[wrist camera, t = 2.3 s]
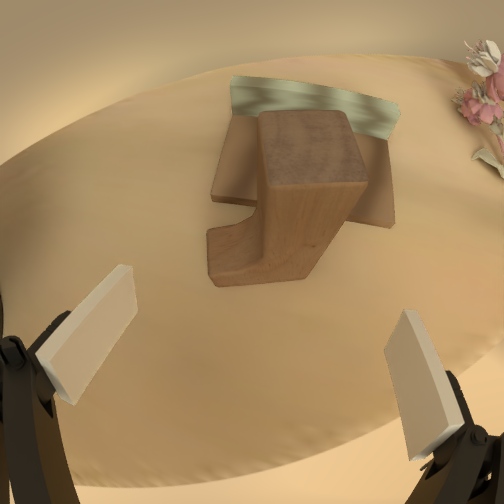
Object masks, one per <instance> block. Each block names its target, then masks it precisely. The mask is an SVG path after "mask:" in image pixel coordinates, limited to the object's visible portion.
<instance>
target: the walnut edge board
mask: <svg viewBox="0 0 504 504" xmlns="http://www.w3.org/2000/svg"><path fill="white" fill-rule="evenodd" d="M230 94H231V104H232V114H233V115H232V118H231V122H230V125H229V128H228V132H227V135H226V139H225V142H224V146H223V150H222V153H221V157H220V160H219V164H218V168H217V172H216V175H215V179H214V183H213V187H212V191H211V198H212V201H214V202H222V203H230V204H238V205H246V206H254V207H257V117H258V115H259V113H260V112H263V111H274V110H340V111H342V112H344V113H345V114H346V116H347V118H348V121H349V123H350V126H351V128H352V131H353V134H354V136H355V139H356V142H357V144H358V147H359V150H360V153H361V156H362V159H363V161H364V164H365V167H366V170H367V173H368V178H369V180H368V186H367V187H366V189H365V190H364V192H363V194H362V195H361V197H360V198H359V200H358V202H357V203H356V205H355V206H354V208H353V209H352V211H351V212H350V214H349V215H348V217H347V218H346V221H351V222H357V223H363V224H368V225H373V226H379V227H384V228H389V229H390V228H391V227H392V226H393V225H394V224H395V211H394V197H393V185H392V175H391V166H390V158H389V151H388V144H387V139H388V137H389V135H390V134H391V132H392V130H393V128H394V126H395V124H396V122H397V120H398V119H399V117H400V115H401V114H400V110H399V106H398V104H397V103H393V102H390V101H386V100H383V99H379V98H376V97H372V96H368V95H364V94H360V93H355V92H351V91H347V90H342V89H337V88H332V87H327V86H321V85H316V84H309V83H303V82H296V81H289V80H280V79H271V78H261V77H247V76H233V77H232V80H231V83H230Z"/></svg>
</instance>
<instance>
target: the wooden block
mask: <svg viewBox="0 0 504 504" xmlns="http://www.w3.org/2000/svg"><path fill="white" fill-rule="evenodd" d="M368 180H369V178H368V173H367V170H366V167H365V164H364V161H363V159H362V156H361V153H360V150H359V147H358V144H357V142H356V139H355V136H354V134H353V131H352V128H351V126H350V123H349V121H348V118H347V116H346V114H345V113H344V112H342V111H340V110H274V111H263V112H260V113H259V115H258V117H257V208H256V210H255V212H254V214H253V216H251V217H249V218H248V219H246V220H244V221H242V222H240V223H238V224H236V225H230V226H224V227H218V228H212V229H209V230H208V231H207V234H206V236H207V261H208V275H209V277H210V279H211V280H212V282H213V283H214V284H215V286H217V287H227V286H238V285H250V284H261V283H271V282H281V281H291V280H300V279H304V278H306V277H307V276H308V274H309V273H310V271H311V270H312V268H313V267H314V266H315V264H316V263H317V261H318V260H319V258H320V257H321V256H322V254H323V253H324V251H325V250H326V248H327V247H328V245H329V244H330V242H331V241H332V239H333V238H334V237H335V235H336V234H337V232H338V231H339V229H340V228H341V226H342V225H343V223H344V222H345V220H346V218H347V217H348V215H349V214H350V212H351V211H352V209H353V208H354V206H355V205H356V203H357V202H358V200H359V198H360V197H361V195H362V194H363V192H364V190H365V189H366V187H367V186H368Z"/></svg>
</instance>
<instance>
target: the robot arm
mask: <svg viewBox="0 0 504 504" xmlns="http://www.w3.org/2000/svg"><path fill="white" fill-rule="evenodd" d="M137 312H138V306H137V299H136V292H135V285H134V277H133V268H132V266H127V265H123V264H119V265H118V266H117V267H116V268H114V269H113V270H112V271H111V272H110V273H109V274H108V275H107V276H106V277H105V278H104V279H103V280H102V281H101V282H100V283H99V284H98V285H97V286H96V287H95V288H94V289H93V290H92V291H91V292H90V293H89V295H88V296H87V297H86V298H85V299H84V300H83V301H82V302H81V303H80V304H79V305H78V306H77V307H76V308H75V309H74V310H73V311H72V312H71V311H68V310H67V311H66V312H64V313H62V314H60V315H59V316H58V317H57V318H56V319H55V320H54V321H53V322H52V323H51V325H49V326H48V327H47V328H46V331H44V332H43V333H42V334H41V335H40V336H39V337H38V338H37V339H36V341H35V342H34V343H33V344H32V345H31V346H30V347H29V349H28V350H26V348H25V347H24V344H23V342H22V341H21V339H20V338H19V337H17V336H7V337H4V338H3V339H2V340H1V338H2V328H3V312H2V302H1V297H0V504H10V498H9V497H10V495H9V480H10V482H11V488H12V493H13V497H14V501H15V504H80V502H79V499H78V496H77V493H76V490H75V487H74V484H73V481H72V478H71V474H70V471H69V467H68V464H67V460H66V456H65V452H64V448H63V444H62V439H61V434H60V429H59V424H58V419H57V413H56V406H55V400H54V398H53V394H54V393H55V391H56V392H57V393H58V395H59V397H60V398H61V399H62V400H64V401H66V402H68V403H69V404H71V405H73V406H75V405H76V404H77V402H78V401H79V399H80V397H81V396H82V394H83V393H84V391H85V389H86V388H87V386H88V385H89V383H90V382H91V380H92V378H93V377H94V375H95V374H96V372H97V371H98V369H99V368H100V366H101V365H102V363H103V362H104V360H105V359H106V357H107V356H108V354H109V353H110V351H111V350H112V348H113V347H114V345H115V344H116V342H117V341H118V339H119V338H120V337H121V335H122V334H123V332H124V331H125V329H126V328H127V326H128V325H129V324H130V322H131V321H132V319H133V318H134V317H135V315H136V314H137ZM384 353H385V357H386V360H387V364H388V367H389V371H390V375H391V379H392V382H393V386H394V390H395V394H396V398H397V403H398V407H399V411H400V416H401V420H402V425H403V430H404V435H405V440H406V445H407V450H408V457H409V461H414V460H420V459H425V458H426V457H427V456H428V455H430V454H431V453H432V452H433V456H434V458H433V459H432V460H430V461H429V462H428V463H427V464H425V465H424V466H423V467H422V468H421V469H420V471H422V470H423V469H425V468H426V467H427V468H426V470H425V472H424V473H423V475H422V477H421V479H420V480H419V482H418V484H417V485H416V487H415V489H414V490H413V492H412V494H411V495H410V497H409V498H408V500H407V501H406V503H405V504H504V432H503V433H502V434H501V435H500V436H491V435H488V433H487V432H486V430H485V429H484V428H483V427H481V426H479V425H475V424H474V422H473V419H472V417H471V414H470V411H469V408H468V406H467V403H466V401H465V398H464V397H463V396H464V395H463V393H462V390H460V385H459V383H458V381H457V379H456V377H455V376H454V375H453V374H452V373H451V371H445V370H444V367H443V365H442V363H441V360H440V358H439V356H438V354H437V351H436V349H435V347H434V345H433V343H432V341H431V338H430V336H429V334H428V332H427V330H426V328H425V326H424V324H423V322H422V320H421V318H420V316H419V314H418V312H417V310H409V309H404V310H403V312H402V314H401V316H400V318H399V320H398V323H397V325H396V327H395V329H394V331H393V333H392V335H391V337H390V339H389V341H388V343H387V345H386V347H385V349H384ZM490 473H491V479H489V480H488V475H489V474H490Z"/></svg>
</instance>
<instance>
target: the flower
mask: <svg viewBox="0 0 504 504" xmlns="http://www.w3.org/2000/svg"><path fill="white" fill-rule="evenodd" d="M479 40H480V42H481V43H482V45H481V43H479V45H478V43H477V45H478V46H476V47H477V49H478V50H476V49H475V48H474V47H473V46H472V48H471V47H469V46H468V45H467V43H466V41H465V40H464V43H465V45H466V46H467V47H469V48H470V49H471V50H472V51H473V52H472V51H470V50H468V51H470V52H471V54H472V57H473V59H471V58H470V57H468V56H467V57H466V58H467V59H470V60H471V61H472V62H473V63H468V62H467V64H468V67H469V69H470V70H471V71H472V72H473V73H474V74H475V75H477V74H479V75H480V76H481V77H486V81H484V82H485V85H484V82H483V81H482V84H483V86H482V84H481V86H482V90H483V91H482V90H481V87H480V86H479V84H477V83H476V81H474V82H473V83H472V87H473V88H474V89H475V90H476V91H475V90H473V89H472V88H471V89H468V90H467V91H466V90H465V93H464V91H463V89H462V88H460V87H459V88H456V90H457V91H458V92H457V93H458V94H459V96H460V97H459V96H458V95H457V96H458V97H457V98H456V99H458V100H460V101H458V100H456V99H454V98H452V100H451V101H453V102H456V103H458V104H459V105H461V107H459V108H458V109H457V110H458V111H459V112H461V113H462V114H463V116H464V117H467V119H468V121H469V122H470V123H471V124H472V125H480V124H481V123H480V120H479V118H478V117H477V115H478V116H480V119H481V121H482V122H484V123H488V124H490V125H491V126H489V129H490V132H494V133H495V134H496V136H497V138H498V141H499V144H500V147H501V150H502V153H503V156H504V144H503V143H504V140H503V135H504V127H503V124H502V123H500V122H501V119H502V118H504V111H503V109H502V108H501V107H500V106H499V104H498V103H497V102H500V101H501V100H502V101H504V54H502V55H501V54H500V52H499V49H498V47H497V45H496V44H495V43H494V42H493V41H489V40H486V42H487V45H488V46H487V45H486V44H485V43H484V42H483V41H482V40H481V39H479ZM480 46H481V47H482V48H483V49H482V48H481V47H480ZM480 83H481V82H480ZM485 86H486V89H485ZM495 87H496V89H497V94H498V96H499V97H498V96H497V94H496V90H495ZM455 97H456V94H455ZM461 97H462V98H464V99H462V98H461ZM499 98H500V99H499ZM493 113H494V115H493ZM478 157H480V158H481V159H483V160H484V161H485V162H487V163H488V164H490V165H492V166H494V167H496V168H498V170H499V173H500V175H501V177H502V178H503V179H504V166H503V165H502V164H500V163H499V162H498V161H497V159H496V158H495V157H494V156H493V154H492V153H491V152H490V151H489V150H488V149H486V148H484V147H483V148H482V149H480V150H479V151H477V152H476V153H475V154H474V156H473V157H472V158H471V160H474V159H476V158H478Z"/></svg>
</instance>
